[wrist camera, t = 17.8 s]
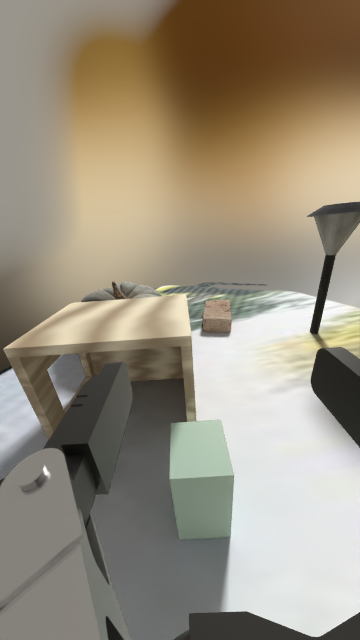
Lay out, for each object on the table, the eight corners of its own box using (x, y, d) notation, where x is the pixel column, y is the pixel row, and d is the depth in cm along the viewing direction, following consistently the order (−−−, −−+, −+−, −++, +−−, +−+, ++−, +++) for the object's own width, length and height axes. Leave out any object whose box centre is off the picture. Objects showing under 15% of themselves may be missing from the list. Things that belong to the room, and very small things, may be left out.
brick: (231, 333, 58) (232, 318, 56) (202, 332, 59) (202, 317, 58) (229, 311, 73) (229, 299, 71) (206, 312, 74) (205, 299, 72)
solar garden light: (279, 325, 59) (294, 209, 47) (317, 320, 60) (342, 205, 48) (309, 347, 48) (340, 201, 36) (355, 339, 49) (400, 197, 37)
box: (191, 373, 42) (186, 294, 35) (197, 443, 28) (191, 335, 21) (94, 380, 43) (71, 303, 36) (54, 451, 29) (3, 348, 22)
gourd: (139, 307, 74) (132, 261, 64) (190, 336, 60) (191, 282, 50) (71, 341, 60) (48, 287, 50) (117, 389, 45) (97, 328, 36)
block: (220, 479, 24) (220, 419, 20) (230, 537, 20) (233, 475, 16) (178, 481, 24) (171, 423, 20) (179, 540, 20) (169, 479, 16)
